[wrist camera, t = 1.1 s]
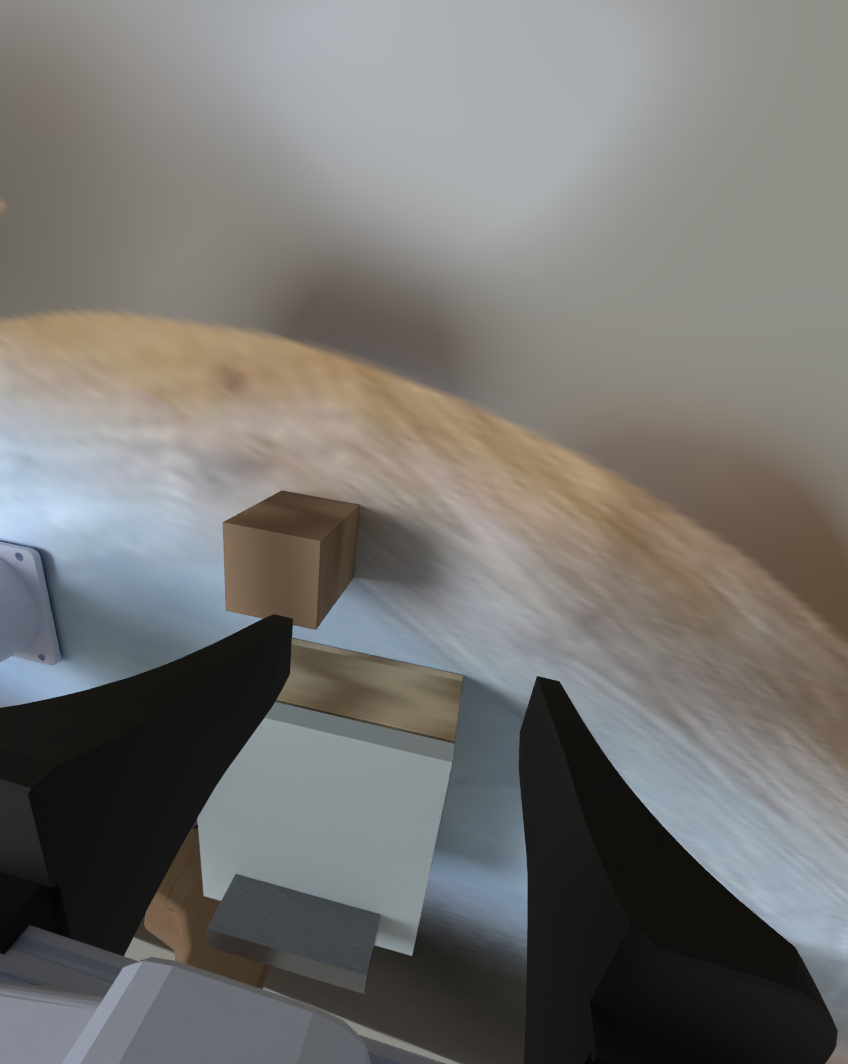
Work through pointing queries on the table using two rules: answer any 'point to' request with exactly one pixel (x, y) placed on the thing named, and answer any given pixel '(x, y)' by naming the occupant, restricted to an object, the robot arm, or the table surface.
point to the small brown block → (290, 557)
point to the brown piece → (373, 690)
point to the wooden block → (195, 919)
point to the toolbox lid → (322, 843)
